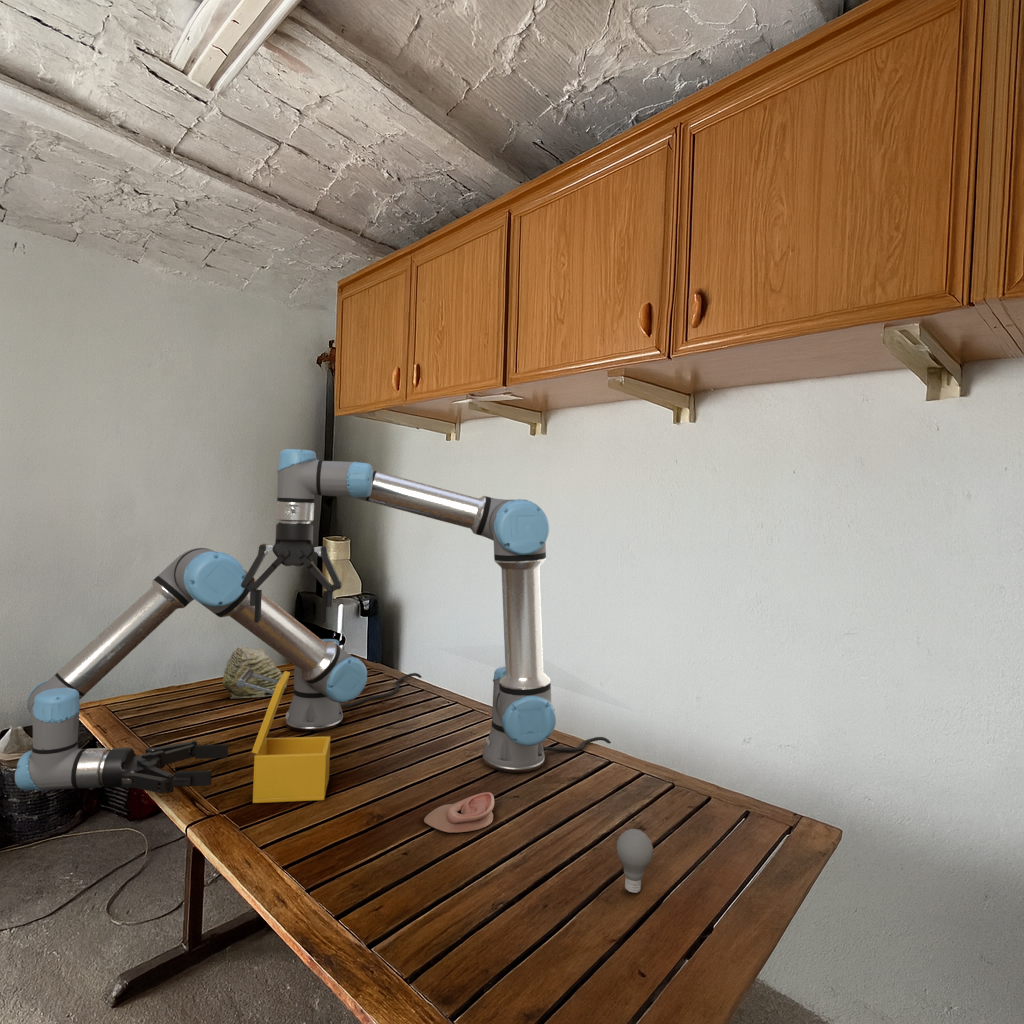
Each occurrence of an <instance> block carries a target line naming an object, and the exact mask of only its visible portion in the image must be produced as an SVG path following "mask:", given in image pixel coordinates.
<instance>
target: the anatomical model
mask: <svg viewBox="0 0 1024 1024" xmlns="http://www.w3.org/2000/svg"><path fill="white" fill-rule="evenodd" d="M494 808H495V797H494V794H493V793H492V792H490V791H486V792H481V793H477V794H474V795H471V796H468V797H466V798H463V799H462V800H459V801H456V802H455V803H449V804H448V803H447V804H444V805H441V806H439V807H436V808H435V809H433V810H432V811H430V812H429V813H428V814H426V815H425V817H424V818H423V822H424V823H425V824H426V825H428V826H429V827H431V828H433V829H435V830H438V831H441V832H444V833H450V834H453V833H454V834H455V833H464V832H472V831H477V830H480V829H483V828H485V827H487V826H489V825H491V824H492V822H493V820H494V813H493V810H494Z"/></svg>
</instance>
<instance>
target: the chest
mask: <svg viewBox="0 0 1024 1024" xmlns="http://www.w3.org/2000/svg"><path fill="white" fill-rule="evenodd" d="M253 758H254V759H253V781H252V782H253V783H252V785H253V786H252V804H261V803H265V804H266V803H286V802H308V801H311V802H312V801H325V798H326V793H327V789H328V784H329V780H330V764H331V763H330V762H331V761H330V759H331V736H328V735H327V736H295V737H294V736H293V737H292V736H291V737H288V736H287V737H266V739H265V741H264V743H263V745H262V747H261V749H260V750H259V752H258V754H256V753H255V755H254V756H253Z"/></svg>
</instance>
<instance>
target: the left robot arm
mask: <svg viewBox="0 0 1024 1024" xmlns="http://www.w3.org/2000/svg"><path fill="white" fill-rule="evenodd" d="M247 573H248V570H246V569H244V567H243V566H242V564H241V563H240V561H239V560H238V559H236V558H235V557H234V556H232V555H230V554H228V553H227V552H223V551H216V550H214V549H210V548H206V547H195V548H191V549H189V550H187V551H185V552H183V553H182V554H179V556H177V557H176V558H175V559H174V560H173V561H172V562H171V563H170V564H168V565H167V566H166V567H165V568H164V569H163V570H162V571H161V572H160V573H159V574H158V575H157V576H155V578H154V579H152V580H151V587H150V588H149V589H148V590H147V591H146V592H145V593H144V594H142V595H141V596H139V598H138V599H137V600H135V602H133V603H132V605H130V606H129V607H128V608H127V609H126V610H124V611H123V612H122V613H121V614H120V615H119V616H118V617H117V618H115V620H113V621H112V623H110V624H109V625H108V626H106V628H105V629H104V630H103V631H102V632H100V633H99V634H98V635H97V636H96V637H95V638H94V639H93V640H91V641H90V642H89V643H88V644H87V645H86V646H85V647H83V649H81V650H80V651H79V652H78V653H77V654H76V655H75V656H73V657H72V659H70V660H69V661H68V662H67V663H66V664H65V665H63V667H62V668H60V669H59V670H58V671H57V672H56V673H55V674H53V676H51V677H50V678H49V679H47V680H43V681H41V682H40V683H38V684H36V685H35V686H34V687H32V689H31V690H30V692H29V694H28V697H27V699H26V706H27V708H26V709H27V710H28V713H29V715H30V719H31V720H30V721H31V724H32V747H31V750H28V751H25V752H24V753H23V754H22V755H21V757H20V758H19V759H18V761H17V763H16V770H15V771H14V782H15V785H16V786H17V788H18V789H20V790H23V791H41V792H47V791H55V790H56V791H57V790H75V789H77V790H78V789H88V790H90V791H92V790H95V789H100V788H101V789H102V788H104V787H105V788H106V789H107V788H133V789H138V790H141V791H142V790H143V791H148V792H152V793H158V794H165V793H167V794H172V793H173V792H174V788H186V787H207V786H211V785H212V772H213V771H212V770H189V771H176V772H175V773H174V774H173V773H171V772H169V771H166V770H165V769H164V768H165V767H166V766H167V765H171V764H174V763H178V762H181V761H185V760H188V759H191V758H194V759H195V760H197V759H198V760H200V759H201V760H202V759H203V760H205V759H226V758H227V759H228V757H229V744H228V743H227V744H226V743H225V744H223V743H221V744H198V740H191V741H186V742H181V743H174V744H168V745H164V746H157V747H147V748H145V750H144V751H145V752H144V753H142V754H139V755H137V753H136V752H135V751H134V748H132V747H113V748H110V747H96V748H92V747H91V748H79V725H80V724H79V723H80V710H81V704H80V703H81V702H80V700H82V698H84V696H85V695H86V694H87V693H89V692H90V691H91V690H92V689H93V688H94V687H96V686H97V684H98V683H100V681H102V680H103V678H105V677H106V676H107V675H108V674H109V673H110V672H111V671H113V669H115V668H116V667H117V666H118V664H120V663H121V662H122V661H123V660H124V659H125V658H126V657H127V656H128V655H129V654H131V652H132V651H133V650H135V649H136V648H137V647H138V646H139V645H140V644H141V643H142V642H144V640H145V639H146V638H148V637H149V635H151V634H152V633H153V632H154V631H155V630H157V628H158V627H159V626H161V625H162V623H163V622H165V621H166V620H167V619H168V618H169V617H170V616H171V615H172V614H173V613H174V612H176V611H177V610H178V609H179V610H180V609H185V608H186V607H187V606H188V605H189V604H191V603H192V602H193V601H196V602H197V603H199V604H200V605H202V606H203V607H205V609H207V610H209V611H210V612H211V613H213V614H214V615H215V616H217V617H218V618H225V617H230V618H231V619H233V620H234V621H235V622H236V623H237V624H239V625H240V626H241V627H243V628H245V630H247V631H248V632H250V633H251V634H252V635H254V636H255V637H257V639H259V640H260V641H262V642H263V643H264V644H266V645H267V646H268V647H270V648H271V649H273V651H276V652H277V653H278V654H279V655H280V656H282V657H283V658H285V659H286V660H287V661H289V663H291V664H293V665H294V672H293V695H292V696H293V697H292V699H291V702H290V704H289V708H288V710H287V711H286V714H285V716H284V718H285V726H286V728H287V729H289V730H291V731H294V732H295V731H296V732H301V733H316V732H325V731H329V730H332V729H335V728H337V727H339V726H340V725H342V723H343V722H344V714H343V709H345V708H352V707H354V706H357V705H360V704H362V703H365V702H367V701H371V700H377V699H383V698H387V697H390V696H392V695H394V694H396V693H397V692H398V690H399V689H400V686H401V683H400V682H402V681H403V680H405V679H408V678H410V677H417V678H418V679H422V678H423V677H422V675H421V674H419V673H417V672H411V673H408V674H406V675H403V676H402V677H399V678H398V679H397V680H396V681H395V683H396V686H395V688H394V689H393V690H392V691H390V692H387V693H383V694H377V695H371V696H367V697H363V698H360V699H358V700H356V701H354V700H355V699H357V697H359V696H360V694H361V693H362V692H363V691H364V689H365V687H366V684H367V680H368V669H367V667H366V665H365V664H364V662H363V661H362V660H361V659H360V658H358V657H355V656H352V655H351V654H350V653H348V652H347V651H346V650H344V649H343V648H342V647H341V646H340V641H339V640H338V639H335V638H323V639H322V638H320V637H319V636H317V635H316V634H315V633H314V632H312V631H311V630H310V629H308V628H307V627H306V626H305V625H304V624H302V623H301V622H299V621H298V620H297V619H296V618H295V617H294V616H292V615H291V614H290V613H288V612H287V611H286V610H285V609H283V608H282V607H281V606H280V605H279V604H277V603H276V602H275V601H274V600H272V599H271V598H270V597H269V596H267V595H266V594H265V593H264V592H262V598H261V620H260V621H259V622H258V623H254V618H255V606H251V605H250V590H249V589H246V588H242V587H241V583H242V581H243V580H244V578H245V576H246V575H247ZM255 581H256V578H255V576H254V577H253V579H252V581H251V583H254V582H255ZM352 701H353V702H352ZM349 702H350V703H349Z"/></svg>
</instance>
